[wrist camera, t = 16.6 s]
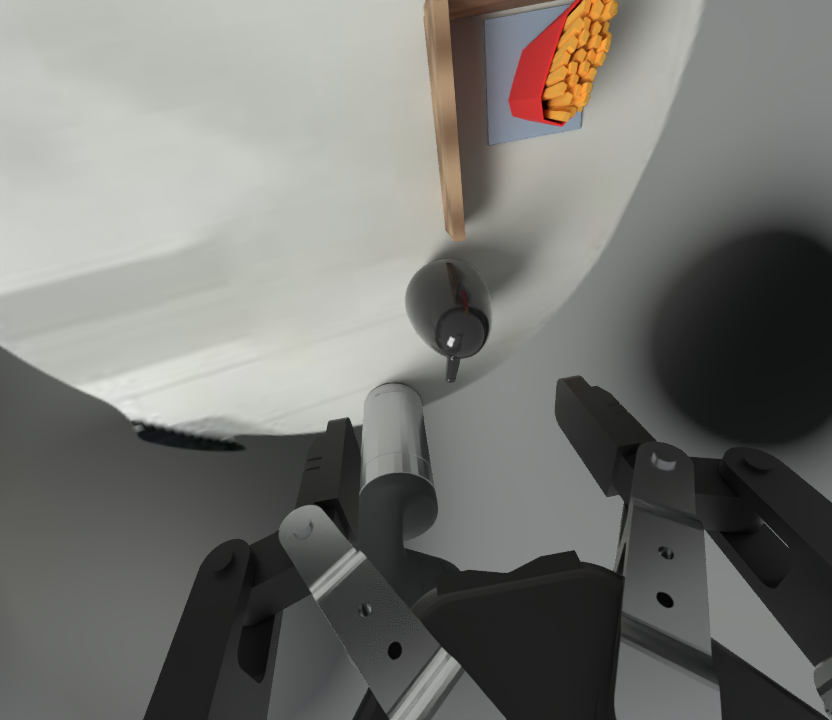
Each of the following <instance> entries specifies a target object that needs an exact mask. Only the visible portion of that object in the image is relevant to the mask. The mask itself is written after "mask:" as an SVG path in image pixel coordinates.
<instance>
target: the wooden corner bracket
mask: <svg viewBox="0 0 832 720" xmlns="http://www.w3.org/2000/svg"><path fill="white" fill-rule="evenodd" d="M550 1H555V0H426V1H425V4H424V26H425V36H426V46H427V55H428V65H429V74H430V84H431V94H432V103H433V113H434V123H435V132H436V142H437V152H438V161H439V171H440V181H441V190H442V200H443V210H444V219H445V229H446V231H447V233H448V234H449V235H450V237H451V238H452V239H453V240H454V242H457V241H462V240H466V238H465V224H464V211H463V197H462V184H461V171H460V157H459V144H458V130H457V117H456V103H455V90H454V77H453V63H452V50H451V36H450V23H449V20H453V19H459V18H464V17H469V16H475V15H480V14H485V13H491V12H496V11H501V10H507V9H512V8H518V7H523V6H528V5H534V4H539V3H544V2H550Z"/></svg>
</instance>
